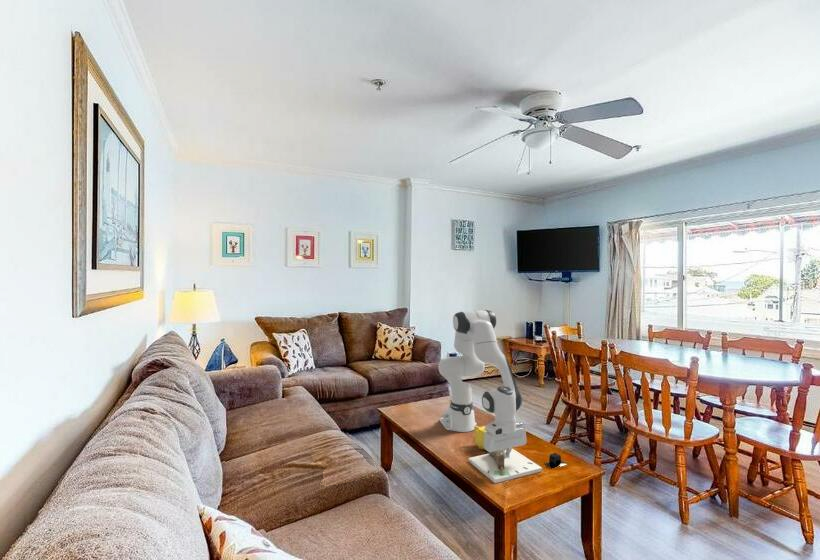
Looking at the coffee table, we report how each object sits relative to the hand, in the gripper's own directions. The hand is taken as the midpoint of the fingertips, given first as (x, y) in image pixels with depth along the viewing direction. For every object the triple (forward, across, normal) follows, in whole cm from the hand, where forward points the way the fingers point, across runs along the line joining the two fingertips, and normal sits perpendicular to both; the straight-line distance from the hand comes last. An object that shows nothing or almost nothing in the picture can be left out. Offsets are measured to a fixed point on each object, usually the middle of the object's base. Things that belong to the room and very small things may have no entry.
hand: (505, 457), depth 166 cm
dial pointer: (+3, +2, -3) cm, 4 cm away
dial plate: (+5, -1, -2) cm, 6 cm away
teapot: (+5, -5, -20) cm, 21 cm away
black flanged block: (+6, -23, +5) cm, 24 cm away
